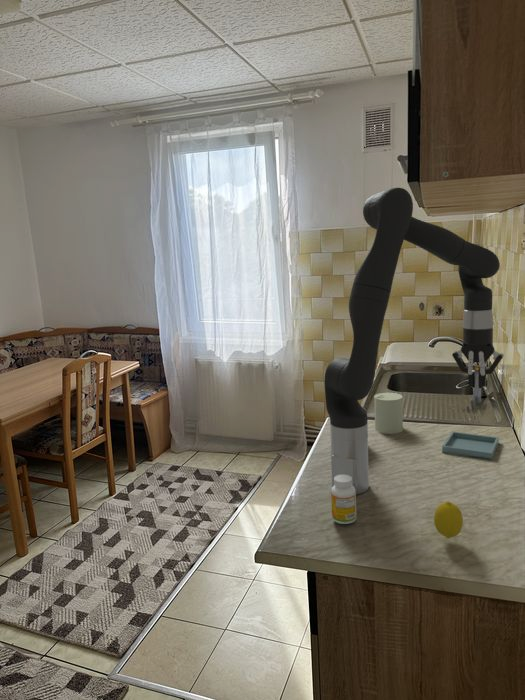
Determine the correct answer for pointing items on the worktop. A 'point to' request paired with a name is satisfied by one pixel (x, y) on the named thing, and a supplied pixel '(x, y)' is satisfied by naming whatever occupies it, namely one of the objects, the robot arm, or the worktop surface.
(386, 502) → the worktop surface
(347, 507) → the supplement bottle
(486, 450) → the tray
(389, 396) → the can
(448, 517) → the lemon
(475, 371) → the orange-topped grey cylinder
